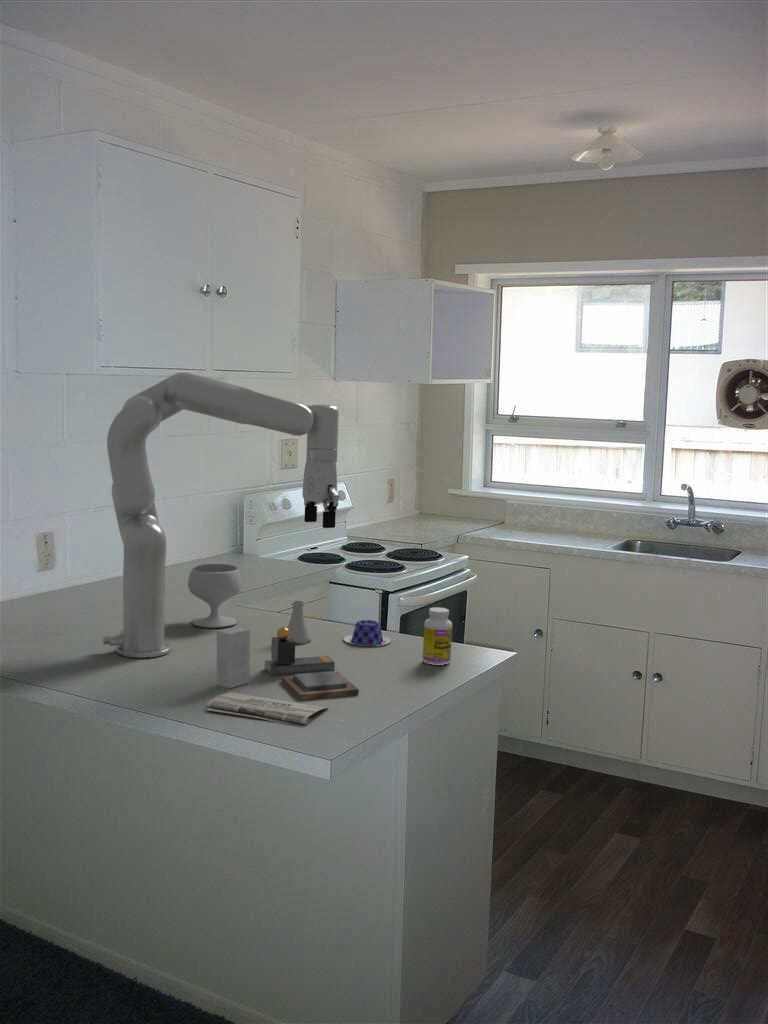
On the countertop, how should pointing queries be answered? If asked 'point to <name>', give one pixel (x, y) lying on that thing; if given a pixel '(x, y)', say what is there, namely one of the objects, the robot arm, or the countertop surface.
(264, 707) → the newspaper
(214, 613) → the chalice
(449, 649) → the supplement bottle
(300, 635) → the flask
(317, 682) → the tray
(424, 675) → the countertop surface
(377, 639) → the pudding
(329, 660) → the rail
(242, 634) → the skincare box
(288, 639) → the handle
